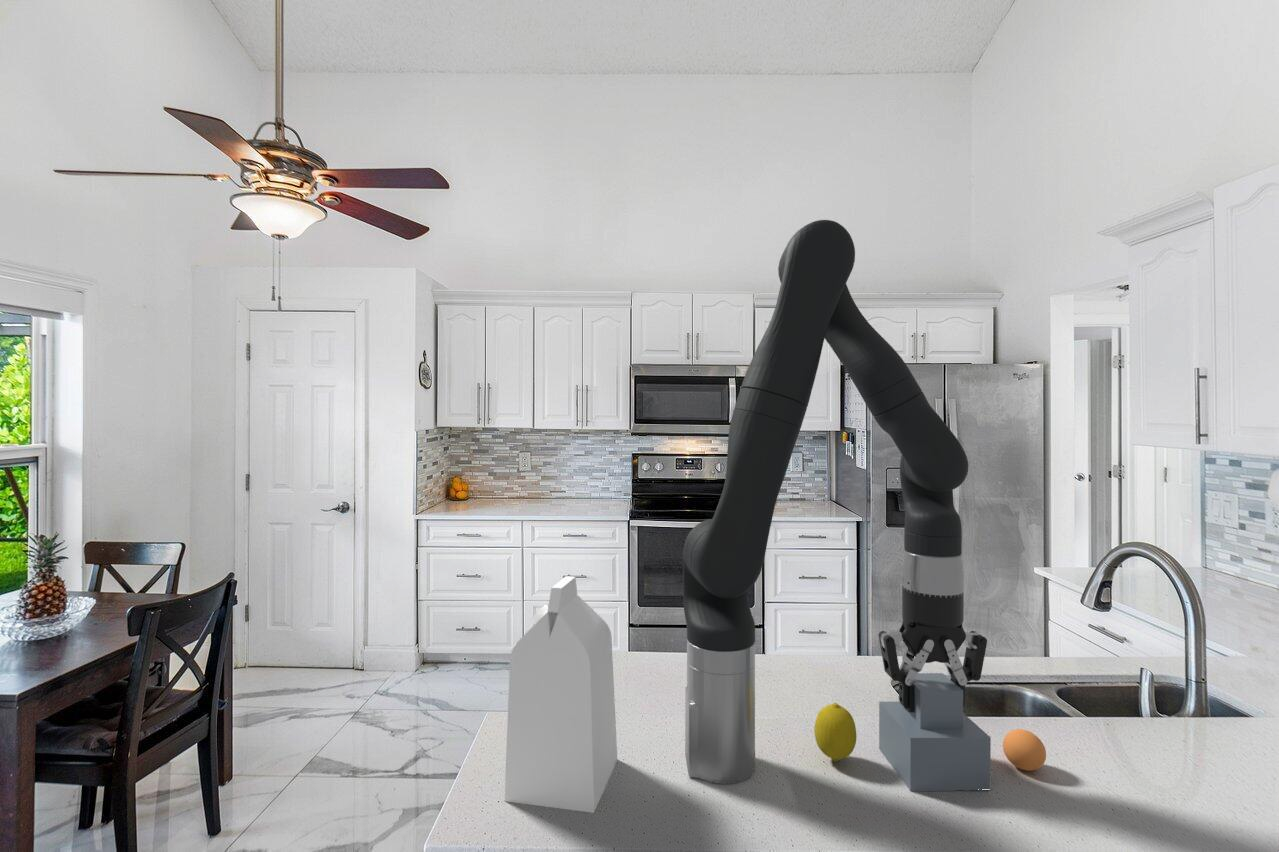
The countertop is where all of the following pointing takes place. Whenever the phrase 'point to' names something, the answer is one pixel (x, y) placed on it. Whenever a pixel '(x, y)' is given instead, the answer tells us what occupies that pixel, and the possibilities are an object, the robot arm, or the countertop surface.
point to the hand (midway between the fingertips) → (931, 709)
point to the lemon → (835, 732)
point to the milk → (561, 707)
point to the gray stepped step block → (935, 739)
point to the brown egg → (1024, 749)
